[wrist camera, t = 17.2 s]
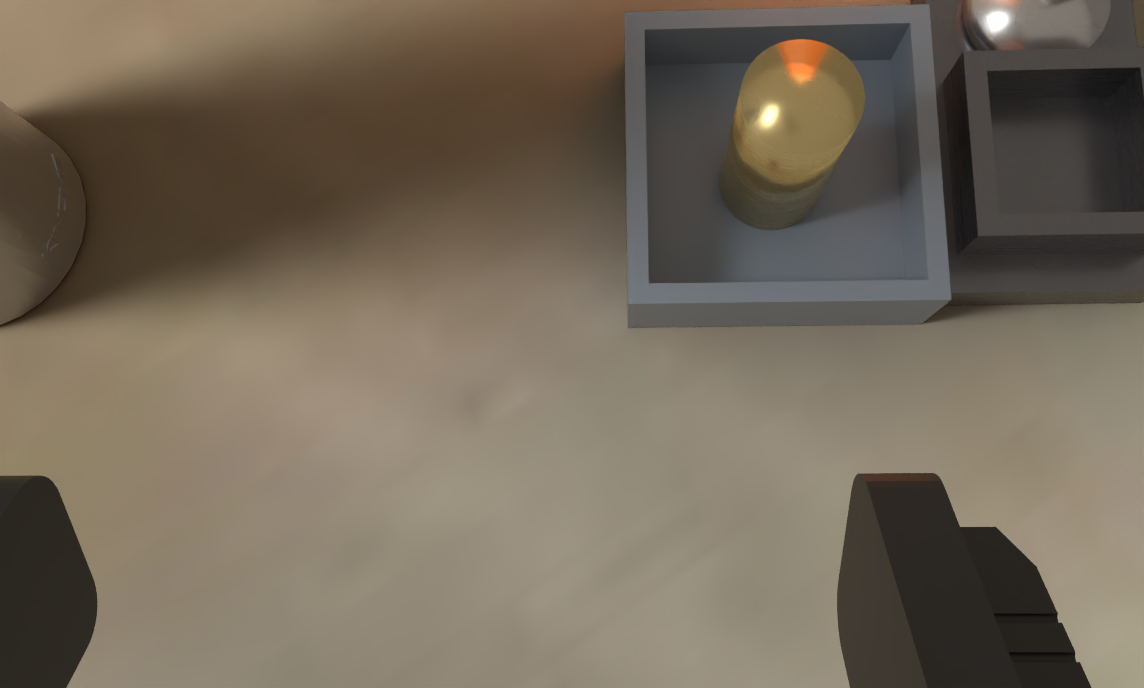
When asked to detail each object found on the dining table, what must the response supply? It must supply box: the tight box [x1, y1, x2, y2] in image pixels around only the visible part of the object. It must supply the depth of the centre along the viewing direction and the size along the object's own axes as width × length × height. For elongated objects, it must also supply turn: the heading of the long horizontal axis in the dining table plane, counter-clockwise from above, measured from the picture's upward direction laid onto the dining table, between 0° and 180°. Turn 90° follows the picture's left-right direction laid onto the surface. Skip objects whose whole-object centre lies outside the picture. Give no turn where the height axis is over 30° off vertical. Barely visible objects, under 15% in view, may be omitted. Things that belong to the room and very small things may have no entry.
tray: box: [625, 4, 951, 328], centre depth 41 cm, size 12×12×4 cm
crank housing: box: [911, 0, 1144, 305], centre depth 40 cm, size 8×14×6 cm, turn 0°
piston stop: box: [719, 39, 865, 230], centre depth 39 cm, size 4×4×8 cm
